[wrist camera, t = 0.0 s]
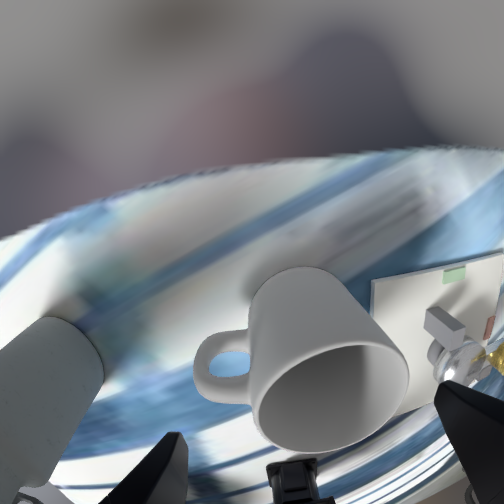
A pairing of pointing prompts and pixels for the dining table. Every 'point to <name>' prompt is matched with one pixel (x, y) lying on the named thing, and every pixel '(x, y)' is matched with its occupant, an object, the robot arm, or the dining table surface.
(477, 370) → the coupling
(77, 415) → the water bottle
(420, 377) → the base plate
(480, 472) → the robot arm
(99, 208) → the dining table surface
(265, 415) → the mug
